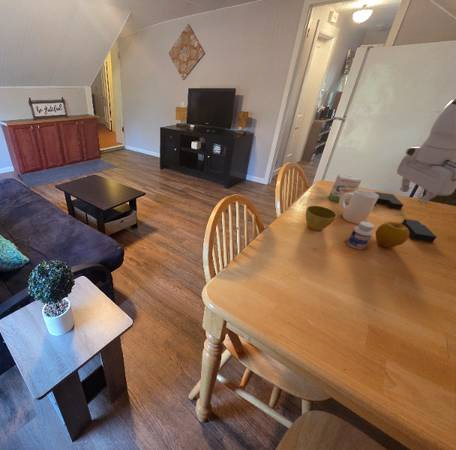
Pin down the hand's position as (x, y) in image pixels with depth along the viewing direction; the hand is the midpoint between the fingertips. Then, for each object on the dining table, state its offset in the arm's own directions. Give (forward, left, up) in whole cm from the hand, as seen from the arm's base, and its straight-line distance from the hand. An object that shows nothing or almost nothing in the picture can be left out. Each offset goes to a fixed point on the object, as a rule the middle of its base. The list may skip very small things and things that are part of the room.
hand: (412, 196), depth 82 cm
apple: (+2, +5, -18) cm, 18 cm away
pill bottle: (+12, +9, -18) cm, 23 cm away
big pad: (-8, -37, -18) cm, 42 cm away
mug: (+9, -14, -18) cm, 24 cm away
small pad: (-12, -10, -17) cm, 23 cm away
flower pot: (+24, +1, -18) cm, 30 cm away
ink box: (+9, -32, -18) cm, 38 cm away
